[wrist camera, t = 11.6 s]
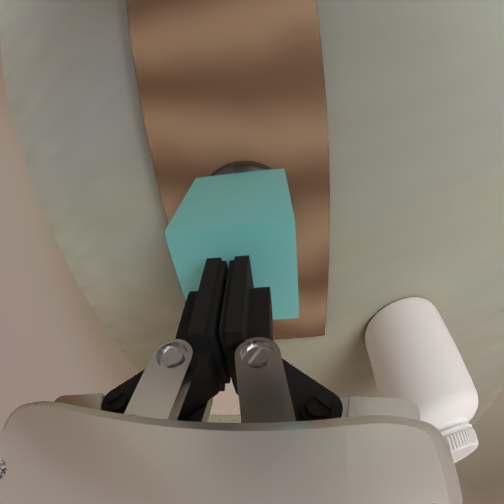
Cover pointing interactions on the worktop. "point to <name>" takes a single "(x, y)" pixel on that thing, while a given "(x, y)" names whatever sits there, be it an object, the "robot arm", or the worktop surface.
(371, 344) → the pill bottle
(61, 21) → the worktop surface
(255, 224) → the matte teal square block
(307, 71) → the board
